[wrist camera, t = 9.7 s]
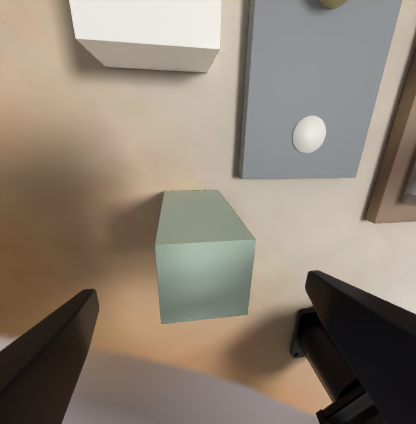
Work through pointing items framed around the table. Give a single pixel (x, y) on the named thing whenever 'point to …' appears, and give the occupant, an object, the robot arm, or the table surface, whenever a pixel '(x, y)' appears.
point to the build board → (398, 164)
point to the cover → (149, 32)
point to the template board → (312, 85)
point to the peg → (202, 257)
